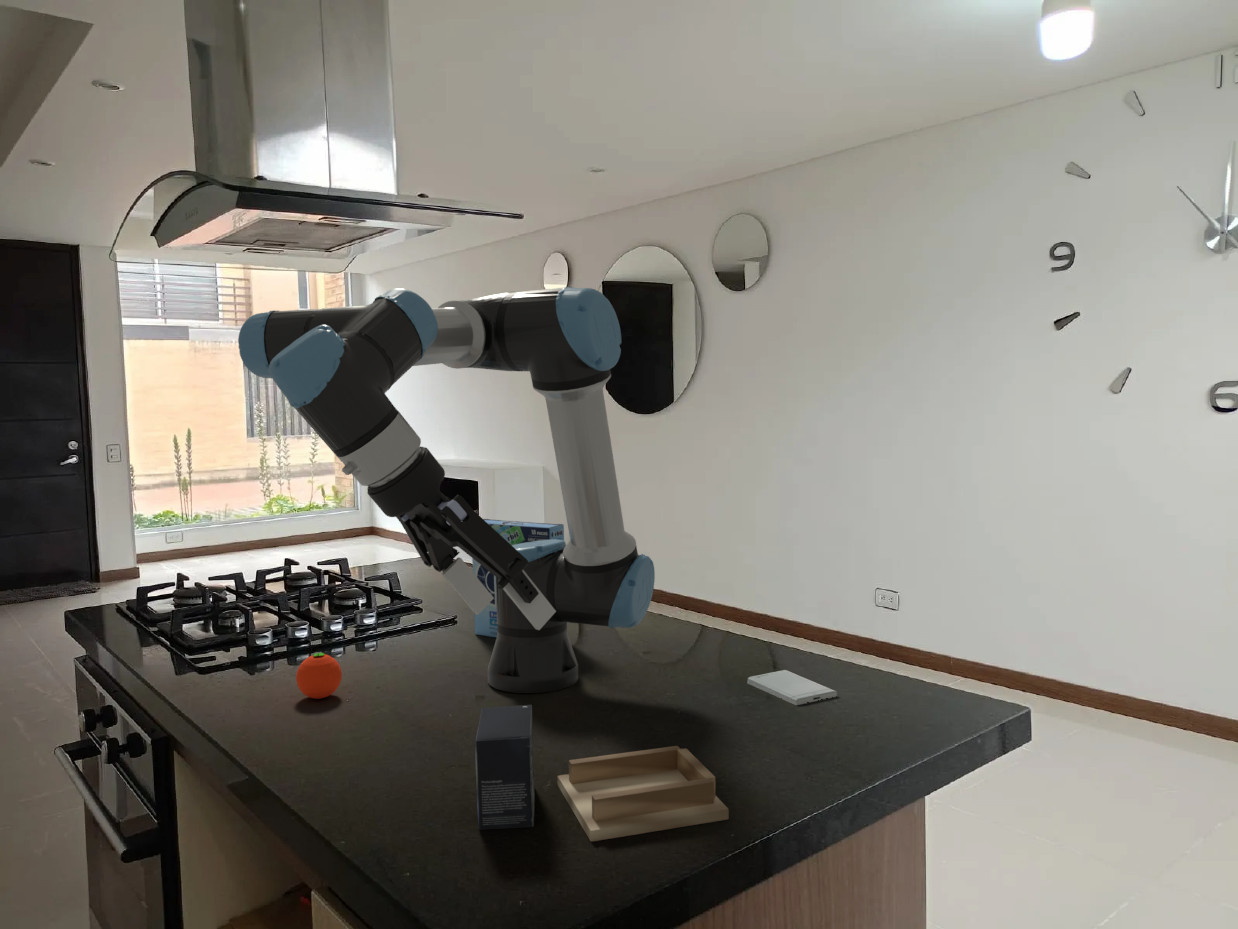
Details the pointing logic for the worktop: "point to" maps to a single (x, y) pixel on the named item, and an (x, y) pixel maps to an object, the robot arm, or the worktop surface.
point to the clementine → (318, 676)
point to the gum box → (488, 616)
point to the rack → (640, 792)
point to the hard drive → (791, 687)
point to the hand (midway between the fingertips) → (513, 613)
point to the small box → (505, 768)
